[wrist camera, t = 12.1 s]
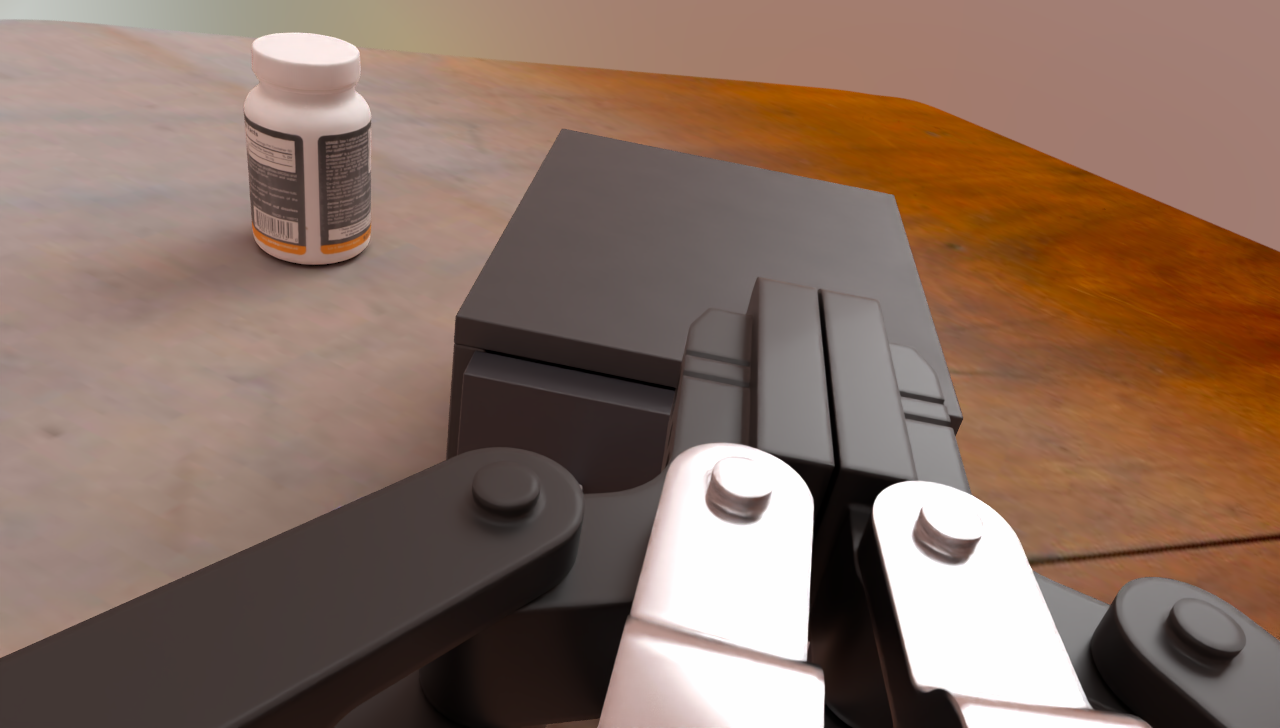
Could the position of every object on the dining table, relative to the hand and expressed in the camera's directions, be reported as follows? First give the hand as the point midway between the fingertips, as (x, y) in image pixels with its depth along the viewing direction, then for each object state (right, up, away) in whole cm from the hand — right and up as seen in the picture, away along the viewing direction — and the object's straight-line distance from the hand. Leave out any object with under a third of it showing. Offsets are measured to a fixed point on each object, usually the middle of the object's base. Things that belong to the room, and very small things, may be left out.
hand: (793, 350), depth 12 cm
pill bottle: (-19, +6, +36) cm, 41 cm away
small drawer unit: (-1, -5, +25) cm, 26 cm away
